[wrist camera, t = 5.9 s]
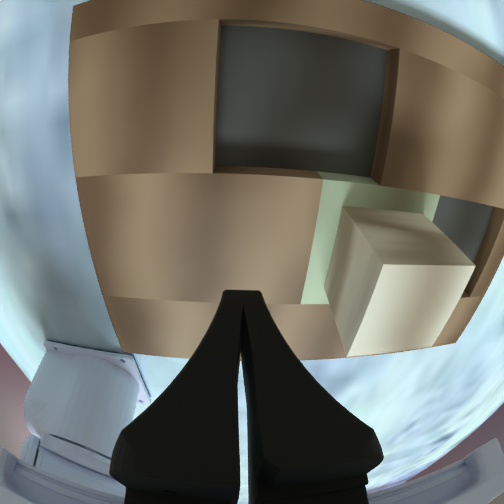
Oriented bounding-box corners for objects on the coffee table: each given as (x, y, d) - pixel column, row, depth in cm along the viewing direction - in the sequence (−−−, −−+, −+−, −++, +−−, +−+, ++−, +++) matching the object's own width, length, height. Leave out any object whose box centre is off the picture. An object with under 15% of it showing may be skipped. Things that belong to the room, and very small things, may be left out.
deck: (127, 337, 20) (122, 351, 19) (87, 10, 9) (73, 5, 7) (449, 331, 22) (455, 342, 21) (529, 93, 10) (543, 97, 9)
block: (323, 287, 16) (346, 356, 12) (341, 205, 14) (383, 264, 9) (397, 286, 16) (431, 346, 12) (423, 214, 14) (475, 265, 10)
